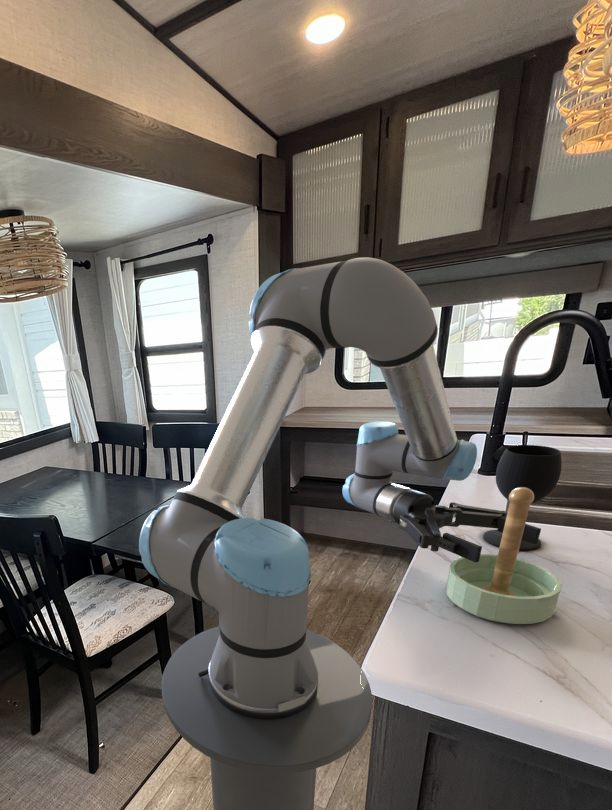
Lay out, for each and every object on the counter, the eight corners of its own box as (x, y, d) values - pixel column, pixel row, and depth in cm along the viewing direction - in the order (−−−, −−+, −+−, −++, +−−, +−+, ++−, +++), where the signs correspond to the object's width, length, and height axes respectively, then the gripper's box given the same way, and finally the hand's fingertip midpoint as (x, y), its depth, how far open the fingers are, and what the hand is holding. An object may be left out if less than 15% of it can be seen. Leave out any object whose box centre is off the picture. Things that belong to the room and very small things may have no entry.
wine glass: (475, 542, 102) (494, 452, 94) (490, 527, 108) (509, 441, 100) (534, 555, 95) (559, 459, 86) (546, 538, 101) (571, 447, 93)
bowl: (467, 627, 76) (473, 598, 73) (432, 580, 90) (436, 554, 87) (574, 629, 73) (584, 599, 71) (521, 580, 87) (528, 553, 85)
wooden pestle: (489, 604, 79) (515, 492, 71) (477, 591, 83) (500, 483, 75) (518, 605, 79) (547, 491, 70) (504, 591, 83) (531, 482, 74)
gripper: (448, 511, 101) (555, 548, 82) (355, 536, 93) (448, 583, 75) (454, 478, 98) (566, 509, 79) (358, 501, 90) (456, 541, 72)
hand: (509, 545), depth 77 cm, fingers open, 13 cm apart
